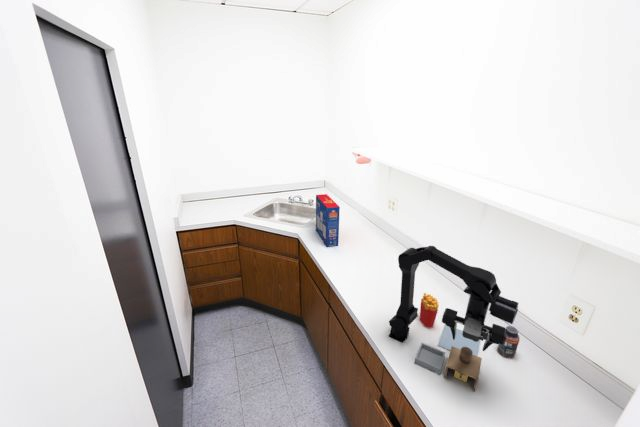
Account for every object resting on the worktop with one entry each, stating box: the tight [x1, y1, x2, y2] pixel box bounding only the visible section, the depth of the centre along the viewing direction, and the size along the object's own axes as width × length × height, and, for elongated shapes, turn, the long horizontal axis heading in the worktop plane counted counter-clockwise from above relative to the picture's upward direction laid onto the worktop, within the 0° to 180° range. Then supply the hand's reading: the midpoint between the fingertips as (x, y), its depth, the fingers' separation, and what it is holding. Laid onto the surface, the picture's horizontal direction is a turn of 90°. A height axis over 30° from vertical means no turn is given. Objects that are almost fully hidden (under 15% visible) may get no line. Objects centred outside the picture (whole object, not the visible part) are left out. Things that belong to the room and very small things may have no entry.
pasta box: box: [315, 193, 340, 248], centre depth 203 cm, size 28×8×28 cm, turn 16°
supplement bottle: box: [497, 325, 520, 359], centre depth 112 cm, size 6×6×11 cm
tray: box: [413, 342, 447, 375], centre depth 110 cm, size 9×9×2 cm
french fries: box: [419, 292, 439, 329], centre depth 127 cm, size 9×4×13 cm, turn 15°
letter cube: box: [453, 370, 469, 383], centre depth 104 cm, size 4×4×4 cm
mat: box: [437, 324, 481, 357], centre depth 119 cm, size 14×14×1 cm
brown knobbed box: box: [443, 346, 483, 392], centre depth 103 cm, size 10×10×10 cm
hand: (468, 344), depth 101 cm, fingers open, 9 cm apart
